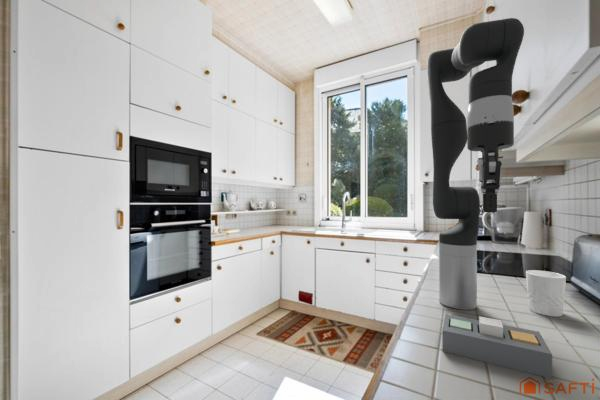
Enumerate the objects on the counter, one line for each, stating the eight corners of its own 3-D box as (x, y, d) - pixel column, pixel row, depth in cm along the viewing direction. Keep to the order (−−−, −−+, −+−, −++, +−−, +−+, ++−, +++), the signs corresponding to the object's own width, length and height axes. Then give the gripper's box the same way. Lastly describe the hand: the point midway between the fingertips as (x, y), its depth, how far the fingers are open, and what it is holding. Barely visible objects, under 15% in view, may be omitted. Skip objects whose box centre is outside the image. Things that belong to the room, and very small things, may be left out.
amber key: (510, 340, 53) (509, 329, 53) (534, 345, 51) (534, 334, 51) (512, 348, 50) (512, 337, 50) (538, 354, 48) (538, 343, 48)
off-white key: (479, 326, 55) (479, 316, 55) (501, 330, 53) (500, 320, 53) (479, 333, 52) (479, 323, 52) (503, 338, 50) (503, 327, 50)
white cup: (524, 311, 72) (523, 273, 72) (527, 303, 78) (527, 268, 78) (565, 320, 66) (565, 279, 66) (566, 311, 72) (566, 273, 72)
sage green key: (450, 327, 58) (450, 318, 58) (470, 332, 56) (470, 322, 56) (450, 335, 55) (450, 325, 55) (471, 339, 53) (471, 329, 53)
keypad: (445, 331, 61) (445, 313, 61) (539, 352, 52) (539, 331, 52) (442, 350, 53) (442, 330, 53) (552, 378, 45) (552, 354, 45)
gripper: (467, 134, 61) (467, 210, 61) (467, 118, 50) (467, 213, 50) (508, 129, 57) (508, 211, 57) (519, 112, 46) (519, 214, 46)
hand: (489, 212), depth 54 cm, fingers closed
